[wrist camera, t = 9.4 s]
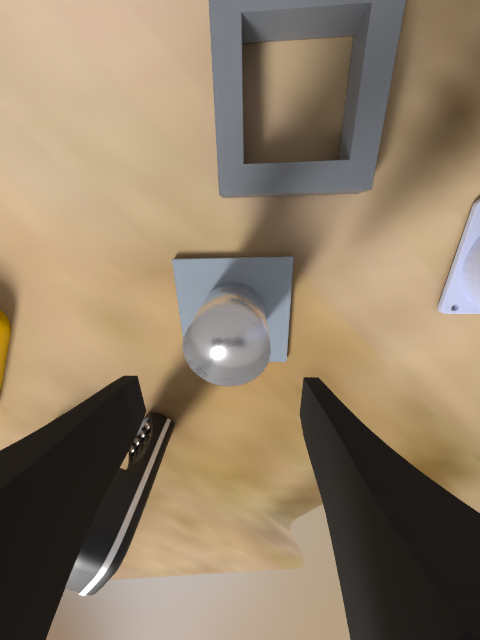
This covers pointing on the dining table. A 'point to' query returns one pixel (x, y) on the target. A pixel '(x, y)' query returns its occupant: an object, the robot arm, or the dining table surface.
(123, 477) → the battery charger
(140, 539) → the dining table surface
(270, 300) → the mat
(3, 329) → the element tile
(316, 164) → the frame
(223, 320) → the shiny metal cylinder
